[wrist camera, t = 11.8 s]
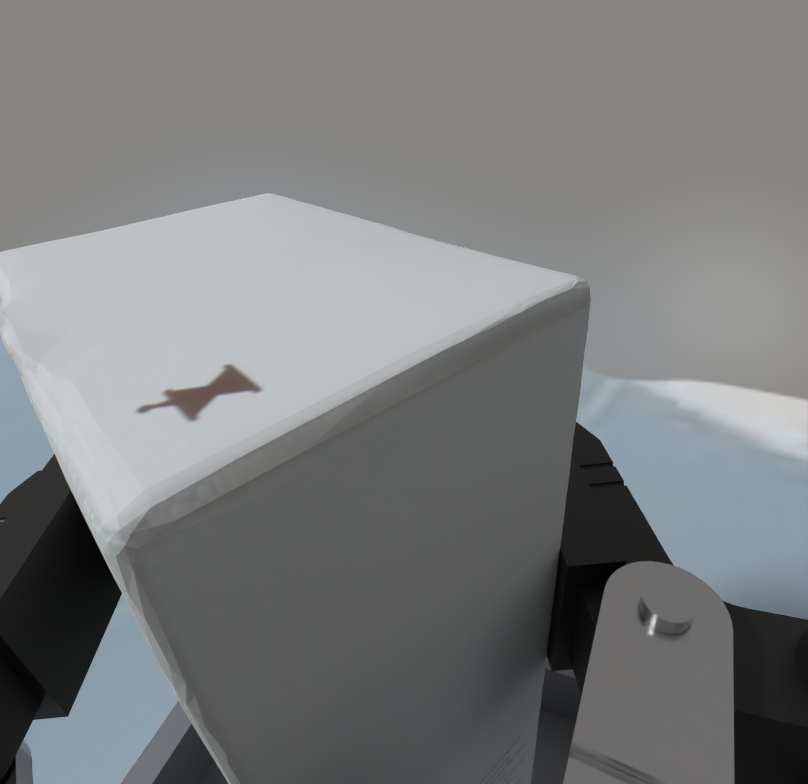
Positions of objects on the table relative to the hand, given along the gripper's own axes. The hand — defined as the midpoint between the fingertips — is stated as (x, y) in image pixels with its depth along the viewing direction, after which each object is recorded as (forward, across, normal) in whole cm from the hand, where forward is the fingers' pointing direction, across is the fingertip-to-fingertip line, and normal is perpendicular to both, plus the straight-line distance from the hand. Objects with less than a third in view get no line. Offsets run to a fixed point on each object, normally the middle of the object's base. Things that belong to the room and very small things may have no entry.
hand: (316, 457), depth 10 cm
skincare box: (-2, 0, +8) cm, 8 cm away
